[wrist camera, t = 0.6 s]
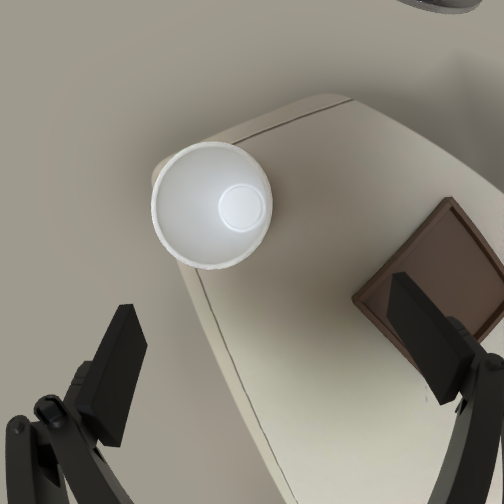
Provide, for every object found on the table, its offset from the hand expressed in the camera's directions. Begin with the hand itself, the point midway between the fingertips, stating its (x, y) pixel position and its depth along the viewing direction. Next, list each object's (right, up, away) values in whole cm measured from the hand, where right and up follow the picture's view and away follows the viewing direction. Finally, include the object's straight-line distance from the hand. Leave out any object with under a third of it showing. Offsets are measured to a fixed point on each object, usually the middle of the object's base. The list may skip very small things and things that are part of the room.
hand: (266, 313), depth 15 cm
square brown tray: (+21, -2, +15) cm, 26 cm away
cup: (-2, +8, +19) cm, 21 cm away
